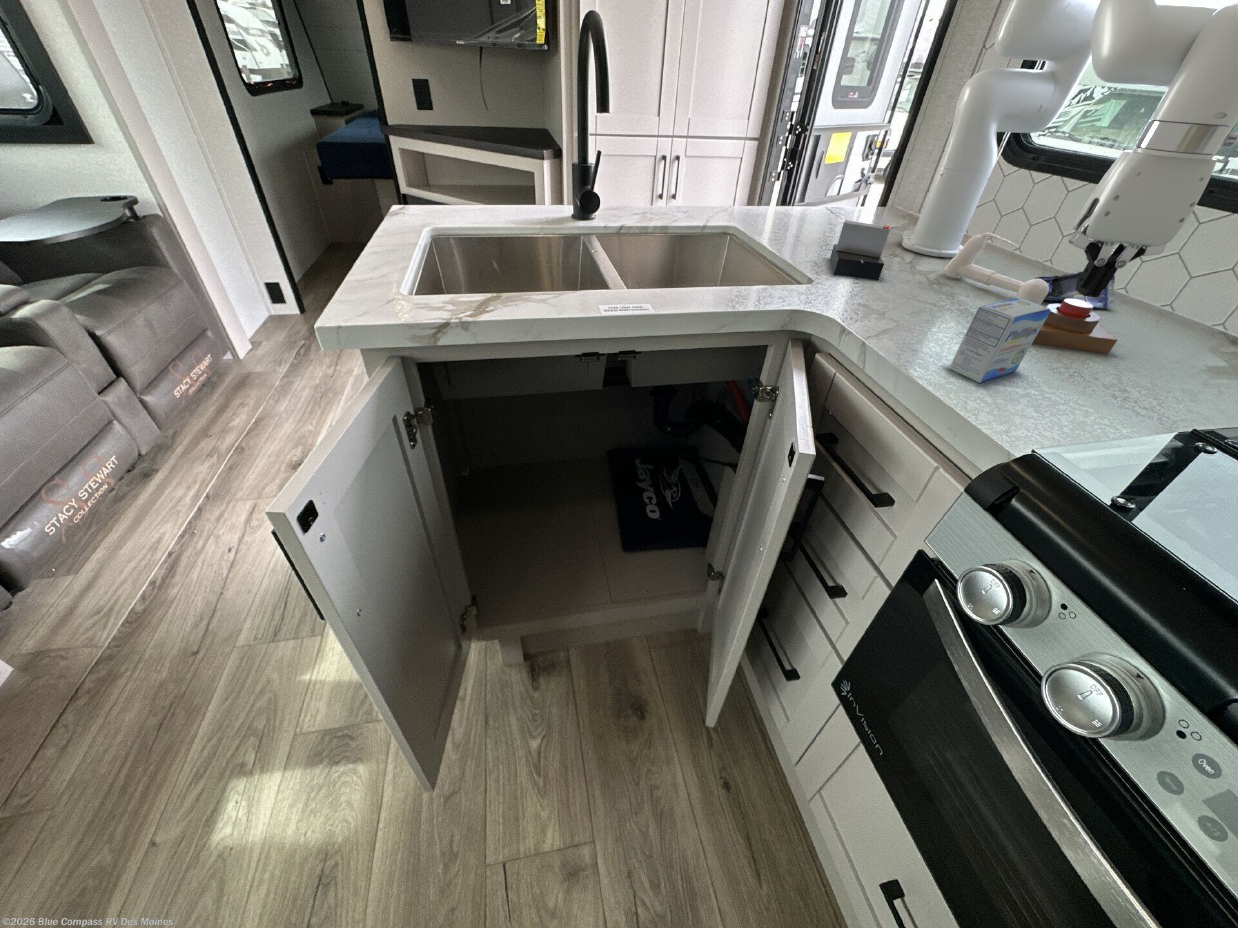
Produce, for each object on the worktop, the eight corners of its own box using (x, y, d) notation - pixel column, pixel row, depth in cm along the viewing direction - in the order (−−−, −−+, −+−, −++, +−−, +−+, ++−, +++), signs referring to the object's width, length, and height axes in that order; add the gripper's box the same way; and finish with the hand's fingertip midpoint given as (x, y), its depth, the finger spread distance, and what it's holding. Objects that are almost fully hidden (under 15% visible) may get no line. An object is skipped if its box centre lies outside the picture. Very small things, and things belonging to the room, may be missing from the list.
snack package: (1086, 320, 83) (1119, 306, 88) (1103, 279, 80) (1136, 267, 85) (1007, 306, 93) (1041, 295, 97) (1019, 269, 89) (1053, 259, 94)
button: (1052, 308, 76) (1059, 297, 75) (1079, 312, 76) (1087, 300, 74) (1063, 317, 73) (1070, 305, 72) (1091, 321, 73) (1098, 309, 72)
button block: (1011, 323, 81) (1025, 298, 78) (1082, 332, 79) (1098, 306, 77) (1030, 344, 74) (1046, 317, 72) (1107, 354, 73) (1126, 327, 70)
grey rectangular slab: (835, 250, 98) (844, 220, 94) (837, 248, 99) (846, 218, 96) (879, 258, 95) (890, 228, 91) (881, 255, 96) (891, 226, 93)
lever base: (818, 256, 104) (822, 240, 102) (881, 264, 102) (887, 247, 100) (822, 275, 95) (827, 257, 93) (891, 283, 93) (898, 266, 91)
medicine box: (978, 384, 64) (1015, 318, 58) (946, 369, 67) (978, 304, 62) (1015, 372, 67) (1054, 308, 62) (983, 358, 70) (1017, 295, 65)
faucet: (1006, 331, 90) (1056, 284, 82) (939, 268, 98) (978, 220, 90) (1021, 328, 91) (1071, 281, 83) (953, 266, 99) (992, 218, 91)
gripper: (1230, 143, 63) (1131, 291, 74) (1094, 133, 65) (1018, 279, 77) (1276, 150, 57) (1161, 310, 68) (1124, 139, 59) (1037, 295, 71)
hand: (1085, 293), depth 72 cm, fingers closed
